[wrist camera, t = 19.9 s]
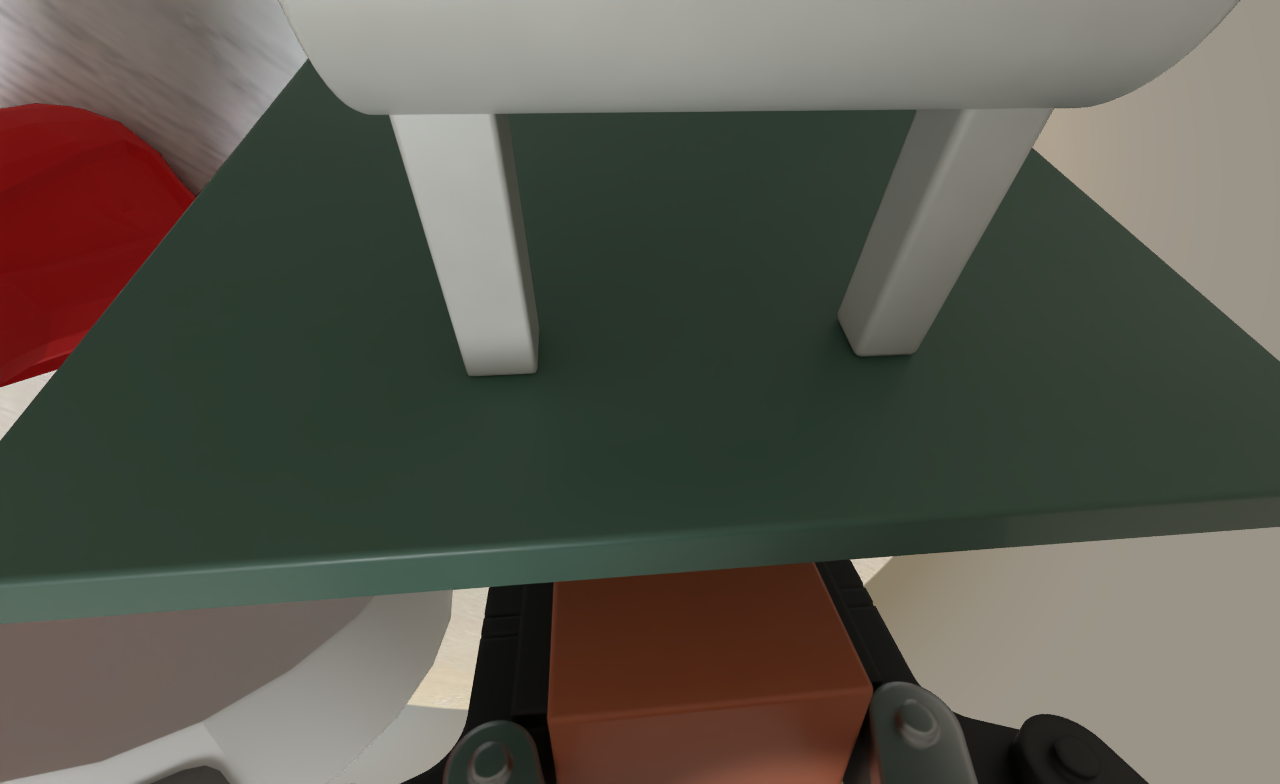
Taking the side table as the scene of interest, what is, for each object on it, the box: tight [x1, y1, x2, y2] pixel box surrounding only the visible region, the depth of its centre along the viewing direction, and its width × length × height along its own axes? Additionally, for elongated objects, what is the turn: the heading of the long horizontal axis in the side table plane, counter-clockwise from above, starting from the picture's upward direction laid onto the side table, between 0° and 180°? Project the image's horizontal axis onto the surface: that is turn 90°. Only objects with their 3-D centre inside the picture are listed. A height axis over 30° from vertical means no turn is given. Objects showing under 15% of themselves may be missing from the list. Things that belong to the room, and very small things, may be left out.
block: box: [547, 562, 873, 784], centre depth 10 cm, size 4×4×4 cm
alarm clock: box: [0, 590, 453, 784], centre depth 27 cm, size 21×8×20 cm, turn 90°
